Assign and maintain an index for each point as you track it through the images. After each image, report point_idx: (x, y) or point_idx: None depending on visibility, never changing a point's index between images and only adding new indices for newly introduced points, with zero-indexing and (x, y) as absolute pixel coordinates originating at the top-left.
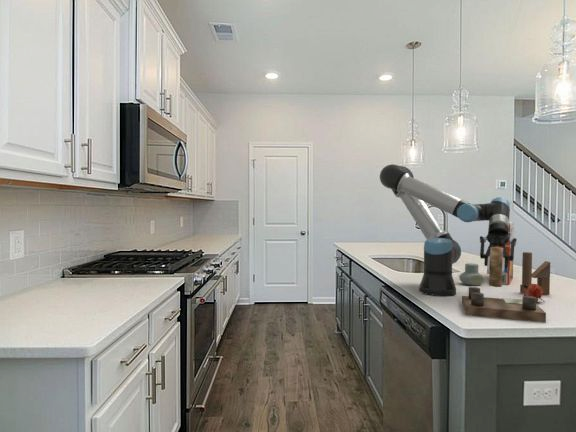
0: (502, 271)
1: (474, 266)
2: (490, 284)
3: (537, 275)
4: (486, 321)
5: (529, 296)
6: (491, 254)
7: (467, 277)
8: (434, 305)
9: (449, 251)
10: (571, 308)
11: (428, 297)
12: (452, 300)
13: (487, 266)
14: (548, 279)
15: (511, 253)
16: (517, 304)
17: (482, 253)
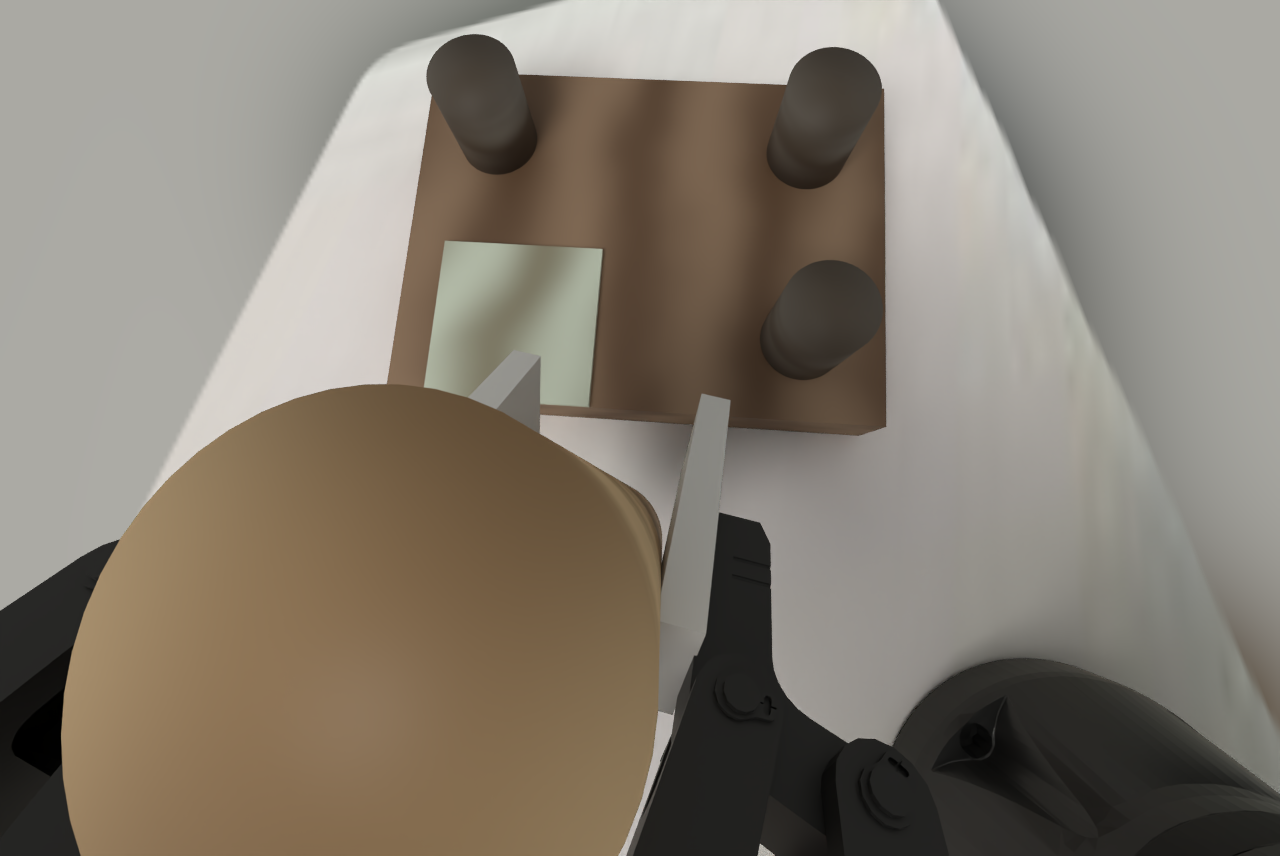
0: (533, 359)
1: None
2: (654, 510)
3: None
4: (763, 42)
5: (460, 98)
6: (643, 529)
7: None
8: (1045, 318)
9: None
10: (146, 502)
11: (1104, 578)
12: (919, 520)
13: (722, 436)
14: None
15: (16, 652)
16: (533, 241)
17: (868, 789)
